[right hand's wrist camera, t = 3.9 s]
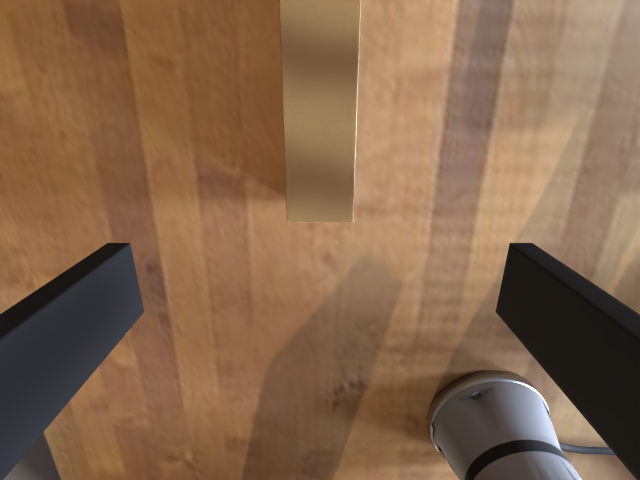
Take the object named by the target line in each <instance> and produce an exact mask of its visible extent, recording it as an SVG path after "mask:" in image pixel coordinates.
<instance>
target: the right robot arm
mask: <svg viewBox="0 0 640 480" xmlns="http://www.w3.org/2000/svg"><path fill="white" fill-rule="evenodd" d="M143 313H144V308H143V303H142V299H141V294H140V289H139V284H138V279H137V274H136V269H135V265H134V260H133V255H132V250H131V245H130V243H107V244H106V245H104V246H103V247H101V248H100V249H98V250H97V251H95V252H94V253H92V254H91V255H89V256H88V257H86V258H85V259H83V260H82V261H80V262H79V263H77V264H76V265H74V266H73V267H71V268H70V269H68V270H67V271H65V272H64V273H62V274H61V275H59V276H58V277H56V278H55V279H53V280H51V281H50V282H48V283H47V284H45V285H44V286H42V287H41V288H39V289H38V290H36V291H35V292H33V293H32V294H30V295H29V296H27V297H26V298H24V299H23V300H21V301H20V302H18V303H17V304H15V305H14V306H12V307H11V308H9V309H8V310H6V311H5V312H3V313H2V314H0V480H3V479H4V478H5V477H6V476H7V475H8V473H9V472H10V471H11V470H12V468H13V467H14V466H15V465H16V464H17V463H18V461H19V460H20V459H21V458H22V457H23V456H24V454H25V453H26V452H27V451H28V450H29V448H30V447H31V446H32V445H33V444H34V442H35V441H36V440H37V439H38V438H39V436H40V435H41V434H42V433H43V432H44V431H45V429H46V428H47V427H48V426H49V425H50V423H51V422H52V421H53V420H54V419H55V417H56V416H57V415H58V414H59V413H60V411H61V410H62V409H63V408H64V407H65V405H66V404H67V403H68V402H69V401H70V400H71V398H72V397H73V396H74V395H75V394H76V392H77V391H78V390H79V389H80V388H81V386H82V385H83V384H84V383H85V382H86V380H87V379H88V378H89V377H90V376H91V375H92V373H93V372H94V371H95V370H96V369H97V367H98V366H99V365H100V364H101V363H102V361H103V360H104V359H105V358H106V357H107V355H108V354H109V353H110V352H111V351H112V350H113V348H114V347H115V346H116V345H117V344H118V342H119V341H120V340H121V339H122V338H123V336H124V335H125V334H126V333H127V332H128V330H129V329H130V328H131V327H132V326H133V325H134V323H135V322H136V321H137V320H138V319H139V317H140V316H141V315H142V314H143ZM496 313H497V314H498V315H499V316H500V317H501V319H502V320H503V321H504V322H505V323H506V325H507V326H508V327H509V328H510V329H511V330H512V332H513V333H514V334H515V335H516V336H517V338H518V339H519V340H520V341H521V342H522V344H523V345H524V346H525V347H526V348H527V350H528V351H529V352H530V353H531V354H532V355H533V357H534V358H535V359H536V360H537V361H538V363H539V364H540V365H541V366H542V367H543V369H544V370H545V371H546V372H547V373H548V375H549V376H550V377H551V378H552V379H553V380H554V382H555V383H556V384H557V385H558V386H559V388H560V389H561V390H562V391H563V392H564V394H565V395H566V396H567V397H568V398H569V400H570V401H571V402H572V403H573V404H574V405H575V407H576V408H577V409H578V410H579V411H580V413H581V414H582V415H583V416H584V417H585V419H586V420H587V421H588V422H589V423H590V425H591V426H592V427H593V428H594V429H595V431H596V432H597V433H598V434H599V435H600V436H601V438H602V439H603V440H604V441H605V442H606V444H607V445H608V446H609V447H610V448H605V447H580V446H573V445H567V444H563V443H560V442H558V440H557V437H556V434H555V432H554V429H553V426H552V423H551V416H550V413H549V409H548V406H547V404H546V402H545V400H544V399H543V397H542V396H541V395H540V393H539V392H538V391H537V389H536V388H535V387H534V386H533V385H532V384H531V383H530V382H529V381H528V380H526V379H524V378H523V377H521V376H519V375H516V374H513V373H509V372H504V371H484V372H478V373H474V374H470V375H467V376H465V377H462V378H460V379H458V380H456V381H454V382H453V383H451V384H450V385H448V386H447V387H446V388H444V389H443V390H442V391H441V392H440V393H439V394H438V396H437V397H436V398H435V400H434V401H433V403H432V405H431V407H430V409H429V413H428V428H429V431H430V434H431V440H432V443H434V445H435V447H436V448H437V450H438V451H439V452H440V454H441V455H442V456H443V457H444V458H445V459H446V460H447V461H448V463H449V465H450V466H451V468H452V469H453V471H454V472H455V474H456V475H457V476H458V477H459V479H460V480H582V479H581V478H580V476H579V475H578V473H577V472H576V471H575V469H574V468H573V466H572V465H571V463H570V462H569V461H568V459H567V458H566V456H565V455H564V453H563V452H562V450H564V451H569V452H574V453H583V454H608V455H616V456H617V457H618V458H619V459H620V460H621V461H622V463H623V464H624V465H625V466H626V467H627V469H628V470H629V471H630V472H631V473H632V475H633V476H634V477H635V478H636V479H637V480H640V314H638V313H637V312H635V311H634V310H632V309H631V308H629V307H628V306H626V305H625V304H623V303H622V302H620V301H619V300H617V299H616V298H614V297H613V296H611V295H610V294H608V293H607V292H605V291H604V290H602V289H601V288H599V287H598V286H596V285H595V284H593V283H592V282H590V281H589V280H587V279H585V278H584V277H582V276H581V275H579V274H578V273H576V272H575V271H573V270H572V269H570V268H569V267H567V266H566V265H564V264H563V263H561V262H560V261H558V260H557V259H555V258H554V257H552V256H551V255H549V254H548V253H546V252H545V251H543V250H542V249H540V248H539V247H537V246H536V245H534V244H533V243H510V245H509V250H508V255H507V260H506V265H505V269H504V274H503V279H502V284H501V289H500V294H499V299H498V303H497V308H496Z"/></svg>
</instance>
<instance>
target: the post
mask: <svg viewBox="0 0 640 480" xmlns="http://www.w3.org/2000/svg"><path fill="white" fill-rule="evenodd" d="M279 5H280V34H281V63H282V91H283V120H284V149H285V177H286V206H287V222H353V209H354V181H355V152H356V124H357V95H358V67H359V38H360V10H361V0H279Z"/></svg>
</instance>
